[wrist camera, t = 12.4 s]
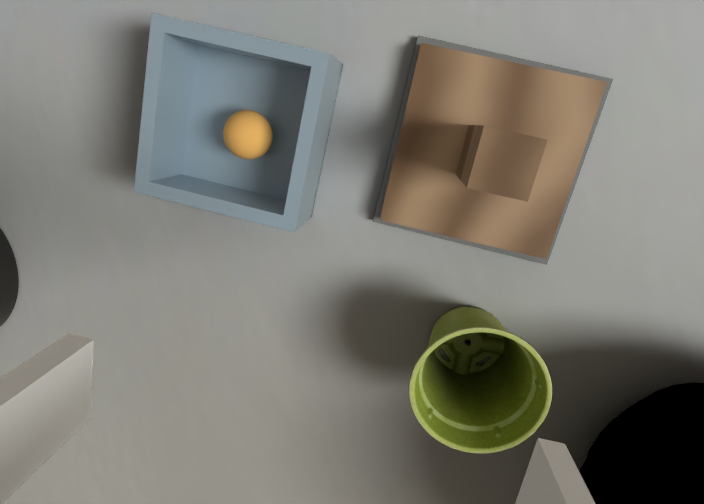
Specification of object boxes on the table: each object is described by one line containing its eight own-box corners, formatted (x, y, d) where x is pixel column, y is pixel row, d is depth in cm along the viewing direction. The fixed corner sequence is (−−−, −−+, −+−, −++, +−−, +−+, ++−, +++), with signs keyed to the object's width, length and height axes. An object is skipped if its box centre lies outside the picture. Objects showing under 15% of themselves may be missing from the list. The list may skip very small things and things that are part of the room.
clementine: (230, 151, 38) (212, 154, 35) (237, 105, 37) (219, 103, 34) (273, 162, 38) (259, 166, 35) (282, 116, 37) (268, 115, 34)
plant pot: (387, 328, 42) (381, 380, 33) (478, 263, 39) (495, 301, 31) (455, 407, 43) (464, 476, 34) (547, 348, 40) (581, 407, 32)
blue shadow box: (173, 182, 41) (133, 191, 35) (192, 29, 37) (151, 12, 31) (311, 216, 40) (294, 232, 34) (343, 64, 36) (329, 53, 31)
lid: (380, 217, 39) (370, 244, 30) (421, 44, 35) (423, 19, 26) (543, 255, 38) (581, 295, 29) (601, 83, 34) (665, 69, 25)
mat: (373, 219, 39) (372, 221, 39) (418, 36, 35) (418, 35, 35) (544, 262, 38) (546, 264, 38) (609, 79, 35) (612, 79, 34)
